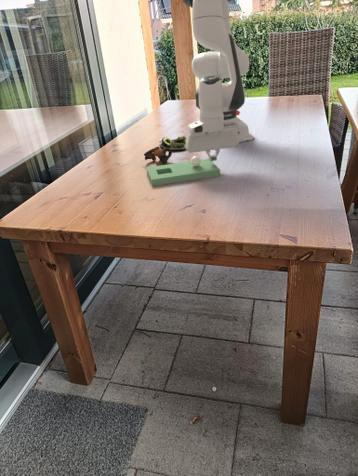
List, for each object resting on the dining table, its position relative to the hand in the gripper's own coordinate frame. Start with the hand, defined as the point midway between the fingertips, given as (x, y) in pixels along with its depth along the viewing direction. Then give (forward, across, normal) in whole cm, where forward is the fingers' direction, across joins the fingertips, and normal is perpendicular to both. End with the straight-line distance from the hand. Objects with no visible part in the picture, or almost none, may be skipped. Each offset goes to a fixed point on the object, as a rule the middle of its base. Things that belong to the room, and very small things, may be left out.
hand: (212, 160), depth 146 cm
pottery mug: (+4, +19, -18) cm, 26 cm away
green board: (+4, +12, 0) cm, 13 cm away
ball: (0, +7, 0) cm, 7 cm away
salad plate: (+4, +6, -39) cm, 40 cm away
